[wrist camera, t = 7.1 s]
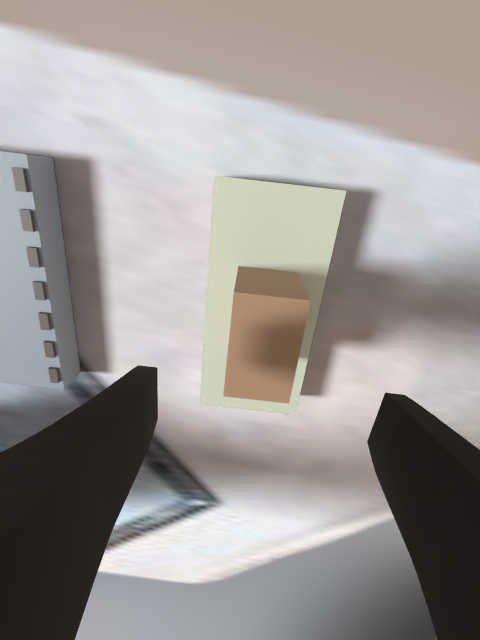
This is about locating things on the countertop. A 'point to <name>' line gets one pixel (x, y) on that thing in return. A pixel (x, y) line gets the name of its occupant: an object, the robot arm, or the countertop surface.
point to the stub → (264, 290)
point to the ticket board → (34, 278)
